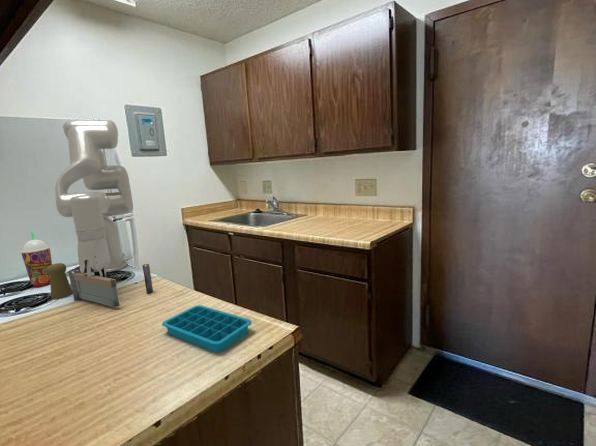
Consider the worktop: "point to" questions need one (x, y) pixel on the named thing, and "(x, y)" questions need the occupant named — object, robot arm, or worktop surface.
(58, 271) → the cork
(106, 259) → the robot arm
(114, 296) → the gate
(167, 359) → the worktop surface
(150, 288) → the gate posts
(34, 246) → the smoothie
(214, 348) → the ice cube tray
